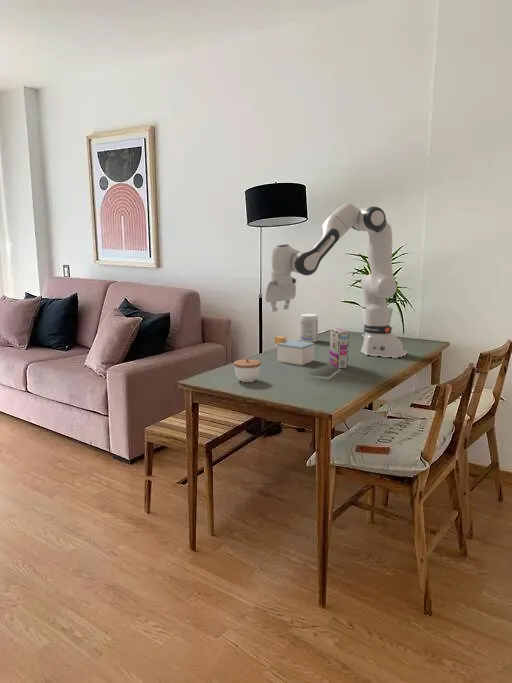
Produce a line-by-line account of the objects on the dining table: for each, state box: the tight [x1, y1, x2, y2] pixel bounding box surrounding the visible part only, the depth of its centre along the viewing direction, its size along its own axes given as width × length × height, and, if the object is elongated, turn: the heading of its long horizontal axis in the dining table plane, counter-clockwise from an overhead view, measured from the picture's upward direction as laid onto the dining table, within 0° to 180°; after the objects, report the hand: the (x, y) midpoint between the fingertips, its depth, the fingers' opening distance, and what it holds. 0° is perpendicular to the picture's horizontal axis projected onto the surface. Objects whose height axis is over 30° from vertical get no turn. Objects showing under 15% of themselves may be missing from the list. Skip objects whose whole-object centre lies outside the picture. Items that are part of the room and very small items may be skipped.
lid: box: [274, 335, 315, 349], centre depth 246 cm, size 17×11×4 cm, turn 54°
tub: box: [276, 344, 315, 366], centre depth 246 cm, size 13×11×8 cm
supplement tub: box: [300, 313, 319, 343], centre depth 294 cm, size 10×10×15 cm
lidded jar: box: [233, 357, 261, 383], centre depth 215 cm, size 11×11×9 cm
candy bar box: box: [329, 328, 350, 370], centre depth 237 cm, size 11×5×16 cm, turn 12°
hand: (280, 310), depth 247 cm, fingers open, 8 cm apart
